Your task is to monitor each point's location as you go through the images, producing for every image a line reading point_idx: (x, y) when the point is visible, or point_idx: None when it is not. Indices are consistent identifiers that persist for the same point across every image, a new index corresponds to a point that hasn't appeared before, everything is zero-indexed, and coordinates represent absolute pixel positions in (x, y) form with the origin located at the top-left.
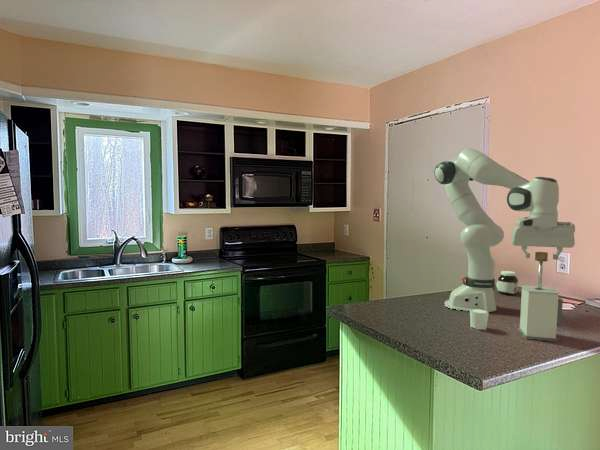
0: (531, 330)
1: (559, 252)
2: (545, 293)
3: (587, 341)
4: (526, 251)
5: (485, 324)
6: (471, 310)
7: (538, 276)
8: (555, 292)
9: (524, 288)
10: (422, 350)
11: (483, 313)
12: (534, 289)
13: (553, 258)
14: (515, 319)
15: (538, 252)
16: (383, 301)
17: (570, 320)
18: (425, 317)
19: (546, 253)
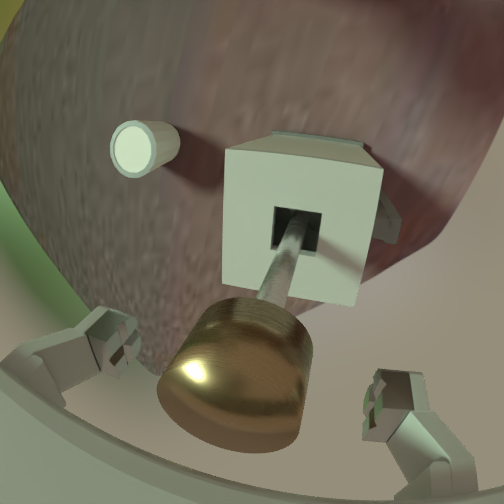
0: None
1: (406, 469)
2: (297, 293)
3: (436, 214)
4: (78, 383)
5: (167, 160)
6: (112, 151)
7: (271, 263)
8: (343, 299)
9: (225, 204)
10: (81, 294)
11: (140, 174)
12: (261, 248)
13: (374, 383)
14: (299, 18)
15: (185, 415)
16: (19, 19)
17: (476, 23)
18: (65, 94)
19: (262, 451)
